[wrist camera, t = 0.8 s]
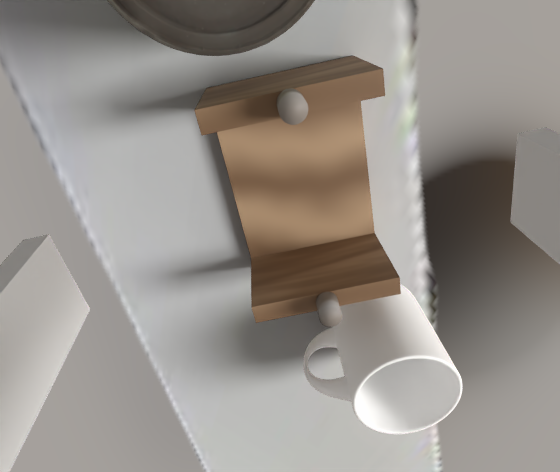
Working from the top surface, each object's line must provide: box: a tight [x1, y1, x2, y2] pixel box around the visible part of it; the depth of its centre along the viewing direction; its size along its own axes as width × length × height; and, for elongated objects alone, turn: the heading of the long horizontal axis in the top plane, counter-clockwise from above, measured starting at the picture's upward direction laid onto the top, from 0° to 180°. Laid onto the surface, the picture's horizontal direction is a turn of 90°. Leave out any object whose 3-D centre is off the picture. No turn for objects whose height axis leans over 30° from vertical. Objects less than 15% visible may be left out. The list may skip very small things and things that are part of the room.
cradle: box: [195, 56, 401, 327], centre depth 31 cm, size 16×11×10 cm
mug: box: [303, 284, 462, 434], centre depth 38 cm, size 9×12×11 cm
